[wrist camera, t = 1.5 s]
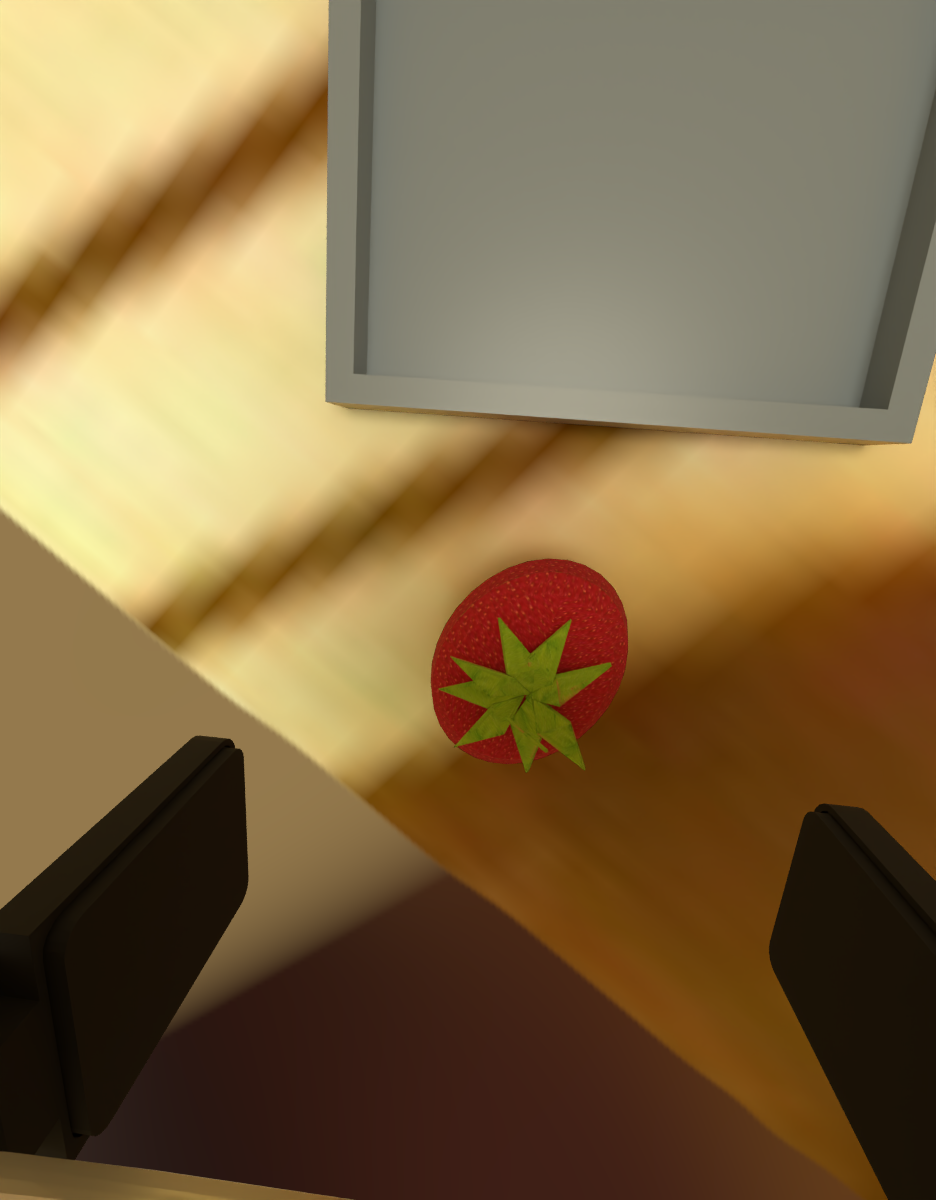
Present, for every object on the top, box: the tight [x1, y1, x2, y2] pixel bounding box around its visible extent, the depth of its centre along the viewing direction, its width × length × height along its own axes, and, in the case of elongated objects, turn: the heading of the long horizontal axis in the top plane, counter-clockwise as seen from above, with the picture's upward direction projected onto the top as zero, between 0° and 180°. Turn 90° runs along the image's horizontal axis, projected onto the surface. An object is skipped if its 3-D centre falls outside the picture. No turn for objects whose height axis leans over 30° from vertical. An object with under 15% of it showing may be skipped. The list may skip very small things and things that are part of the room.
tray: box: [326, 0, 936, 445], centre depth 18 cm, size 16×20×2 cm
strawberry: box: [431, 559, 628, 773], centre depth 19 cm, size 6×8×10 cm
